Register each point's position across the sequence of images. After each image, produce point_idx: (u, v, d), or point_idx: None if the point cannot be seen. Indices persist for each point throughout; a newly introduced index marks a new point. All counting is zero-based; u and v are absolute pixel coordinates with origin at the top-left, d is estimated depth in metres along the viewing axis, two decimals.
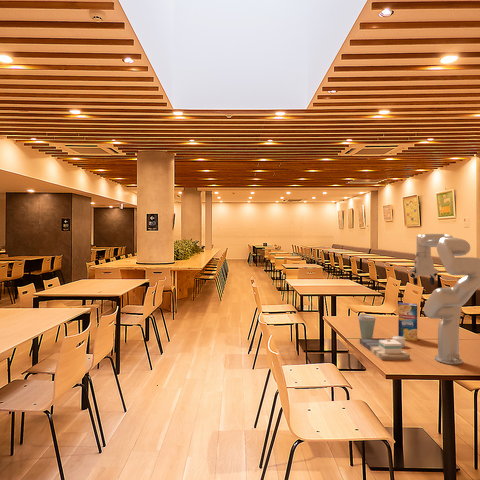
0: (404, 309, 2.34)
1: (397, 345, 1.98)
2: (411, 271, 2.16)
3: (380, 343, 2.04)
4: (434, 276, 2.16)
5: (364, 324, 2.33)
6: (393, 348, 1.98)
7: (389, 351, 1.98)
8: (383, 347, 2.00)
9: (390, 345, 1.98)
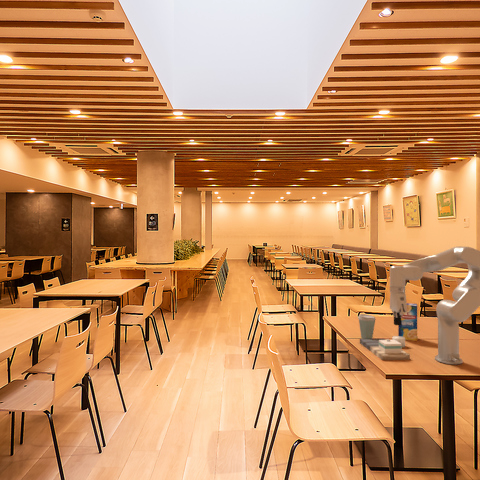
0: None
1: (397, 345, 1.98)
2: None
3: (380, 343, 2.04)
4: None
5: (364, 324, 2.33)
6: (393, 348, 1.98)
7: (389, 351, 1.98)
8: (383, 347, 2.00)
9: (390, 345, 1.98)
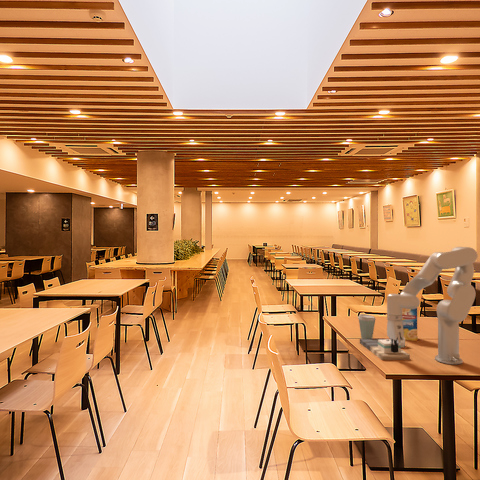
0: (404, 309, 2.34)
1: None
2: None
3: (379, 343, 2.04)
4: None
5: (364, 324, 2.33)
6: None
7: (388, 351, 1.99)
8: (382, 347, 2.01)
9: (389, 345, 1.99)
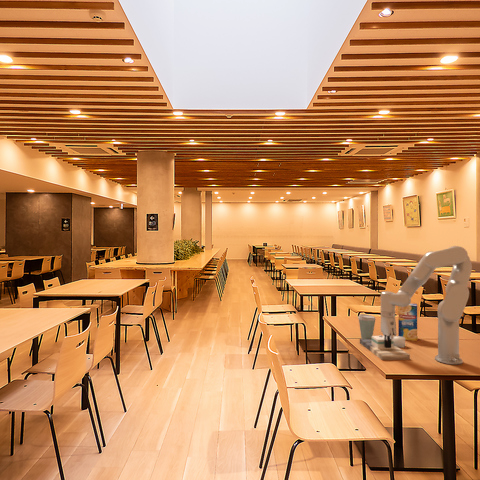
0: (404, 309, 2.34)
1: None
2: None
3: (373, 339, 2.12)
4: None
5: (364, 324, 2.33)
6: None
7: (381, 346, 2.07)
8: (375, 343, 2.09)
9: (382, 341, 2.07)
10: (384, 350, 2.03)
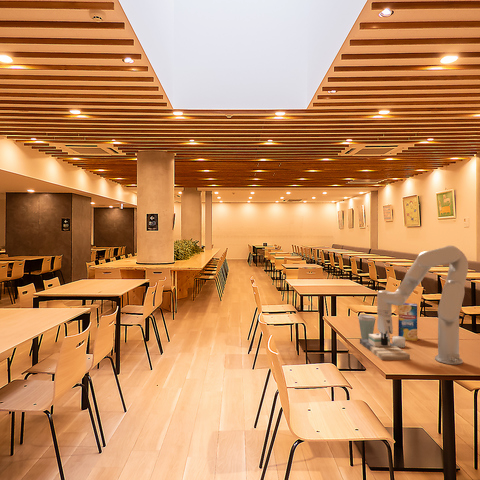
0: (404, 309, 2.34)
1: None
2: None
3: (370, 337, 2.17)
4: None
5: (364, 324, 2.33)
6: None
7: (378, 344, 2.11)
8: (372, 340, 2.13)
9: (379, 338, 2.11)
10: (384, 350, 2.03)
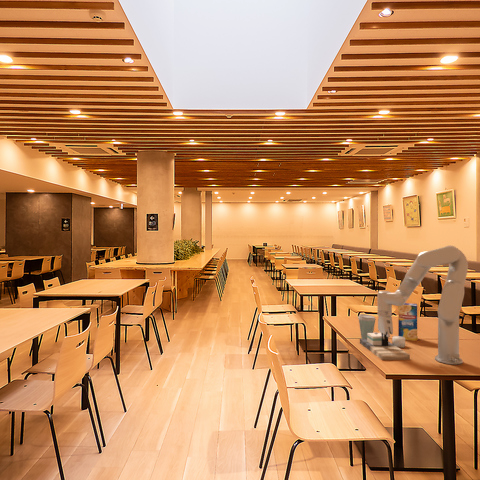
0: (404, 309, 2.34)
1: None
2: None
3: (368, 336, 2.19)
4: None
5: (364, 324, 2.33)
6: (380, 340, 2.14)
7: (377, 343, 2.13)
8: (371, 339, 2.16)
9: (377, 337, 2.13)
10: (384, 350, 2.03)
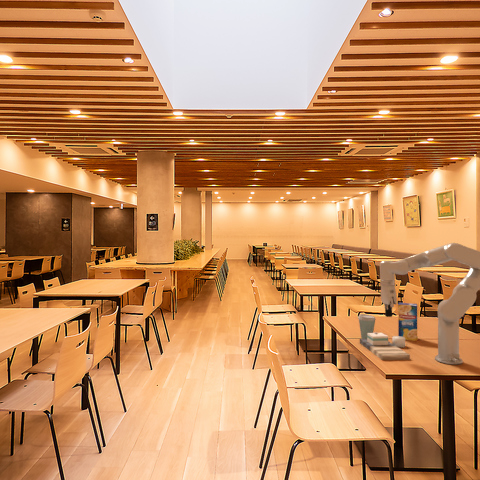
0: (404, 309, 2.34)
1: (384, 337, 2.14)
2: None
3: (368, 336, 2.19)
4: None
5: (364, 324, 2.33)
6: (380, 340, 2.14)
7: (377, 343, 2.13)
8: (371, 339, 2.16)
9: (377, 337, 2.13)
10: (384, 350, 2.03)
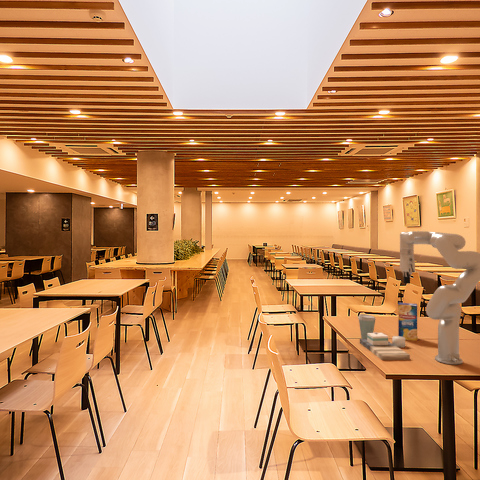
0: (404, 309, 2.34)
1: (384, 337, 2.14)
2: None
3: (368, 336, 2.19)
4: None
5: (364, 324, 2.33)
6: (380, 340, 2.14)
7: (377, 343, 2.13)
8: (371, 339, 2.16)
9: (377, 337, 2.13)
10: (384, 350, 2.03)
